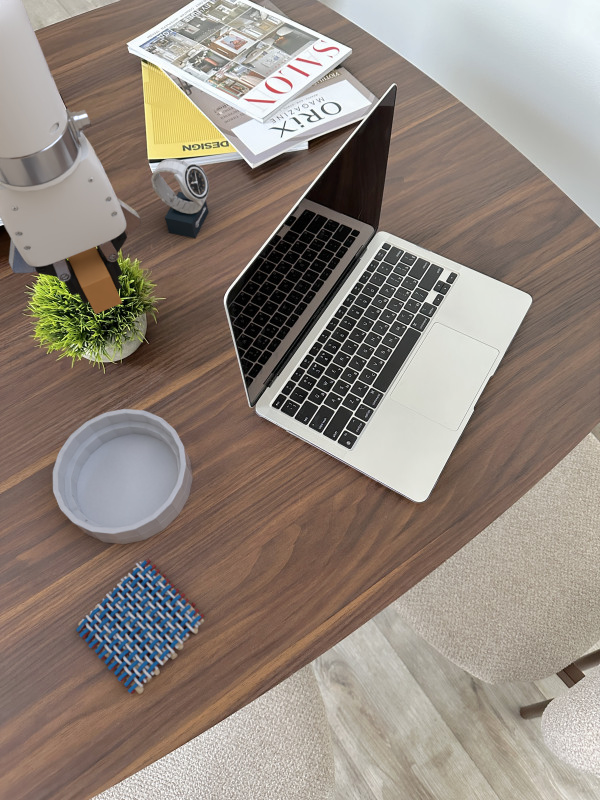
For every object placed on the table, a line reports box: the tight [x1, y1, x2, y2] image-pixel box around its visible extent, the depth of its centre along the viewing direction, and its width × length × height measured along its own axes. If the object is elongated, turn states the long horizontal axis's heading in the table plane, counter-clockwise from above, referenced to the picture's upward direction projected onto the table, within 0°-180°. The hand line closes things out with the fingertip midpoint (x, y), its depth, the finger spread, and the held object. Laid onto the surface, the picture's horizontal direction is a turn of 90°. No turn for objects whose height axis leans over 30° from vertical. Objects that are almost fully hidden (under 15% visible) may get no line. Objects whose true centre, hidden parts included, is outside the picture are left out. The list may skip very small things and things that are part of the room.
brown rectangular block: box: [67, 246, 123, 315], centre depth 66 cm, size 3×8×4 cm, turn 28°
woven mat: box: [75, 558, 205, 695], centre depth 68 cm, size 10×11×2 cm
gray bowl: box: [52, 408, 193, 545], centre depth 74 cm, size 15×15×5 cm
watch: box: [150, 158, 210, 239], centre depth 91 cm, size 6×8×11 cm
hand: (98, 285), depth 67 cm, fingers closed on brown rectangular block, 3 cm apart
